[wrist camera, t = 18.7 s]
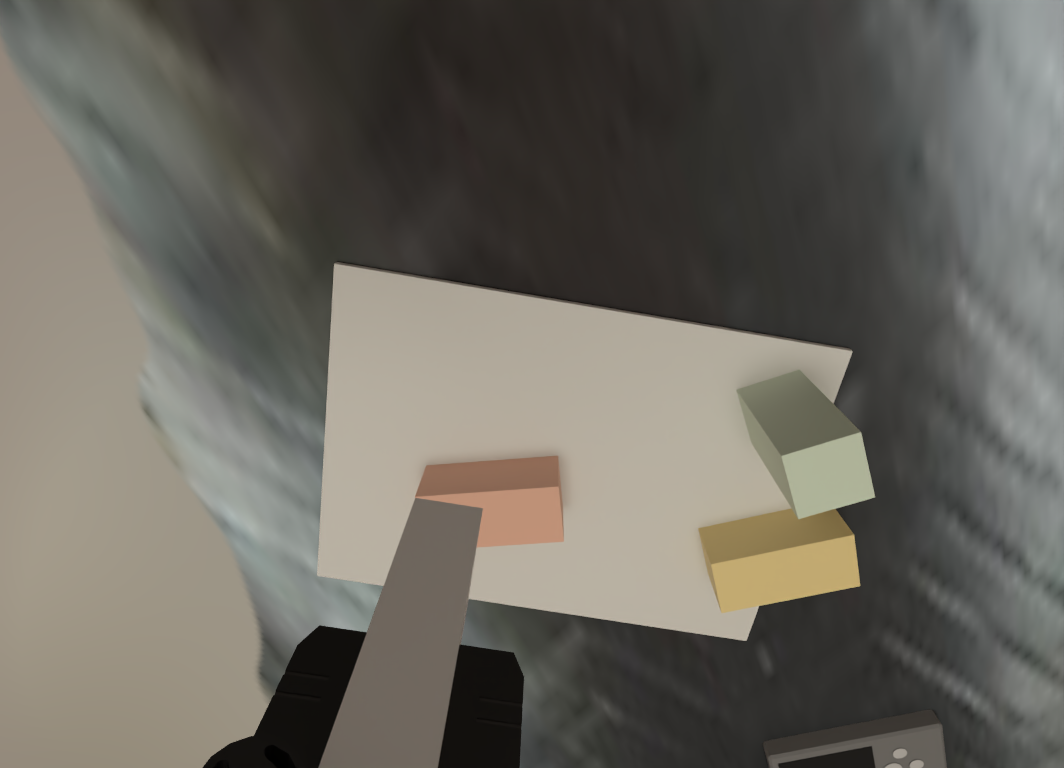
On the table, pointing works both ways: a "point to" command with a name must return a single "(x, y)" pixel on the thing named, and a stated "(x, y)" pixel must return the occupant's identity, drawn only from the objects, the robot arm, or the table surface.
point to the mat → (551, 438)
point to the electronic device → (865, 745)
